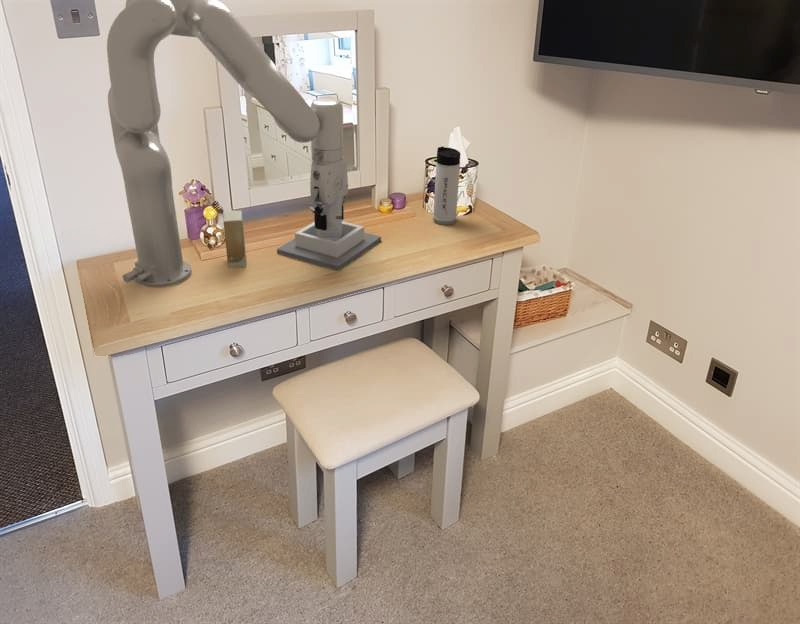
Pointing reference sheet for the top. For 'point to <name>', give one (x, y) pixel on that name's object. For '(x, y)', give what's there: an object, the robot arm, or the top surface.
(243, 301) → the top surface
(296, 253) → the duct collar
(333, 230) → the skincare box
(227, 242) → the skincare box
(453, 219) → the travel mug
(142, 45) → the robot arm
